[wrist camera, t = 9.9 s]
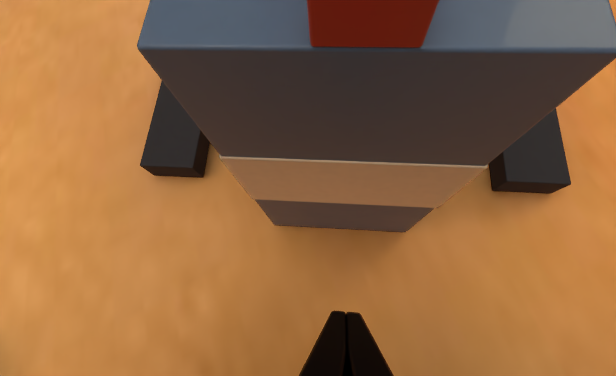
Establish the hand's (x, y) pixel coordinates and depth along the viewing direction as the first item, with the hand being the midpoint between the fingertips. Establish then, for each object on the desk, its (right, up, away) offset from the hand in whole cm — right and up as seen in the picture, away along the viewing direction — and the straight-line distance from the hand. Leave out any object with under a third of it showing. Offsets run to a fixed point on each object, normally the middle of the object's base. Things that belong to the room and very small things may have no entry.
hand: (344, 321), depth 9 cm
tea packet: (+1, +8, +10) cm, 13 cm away
